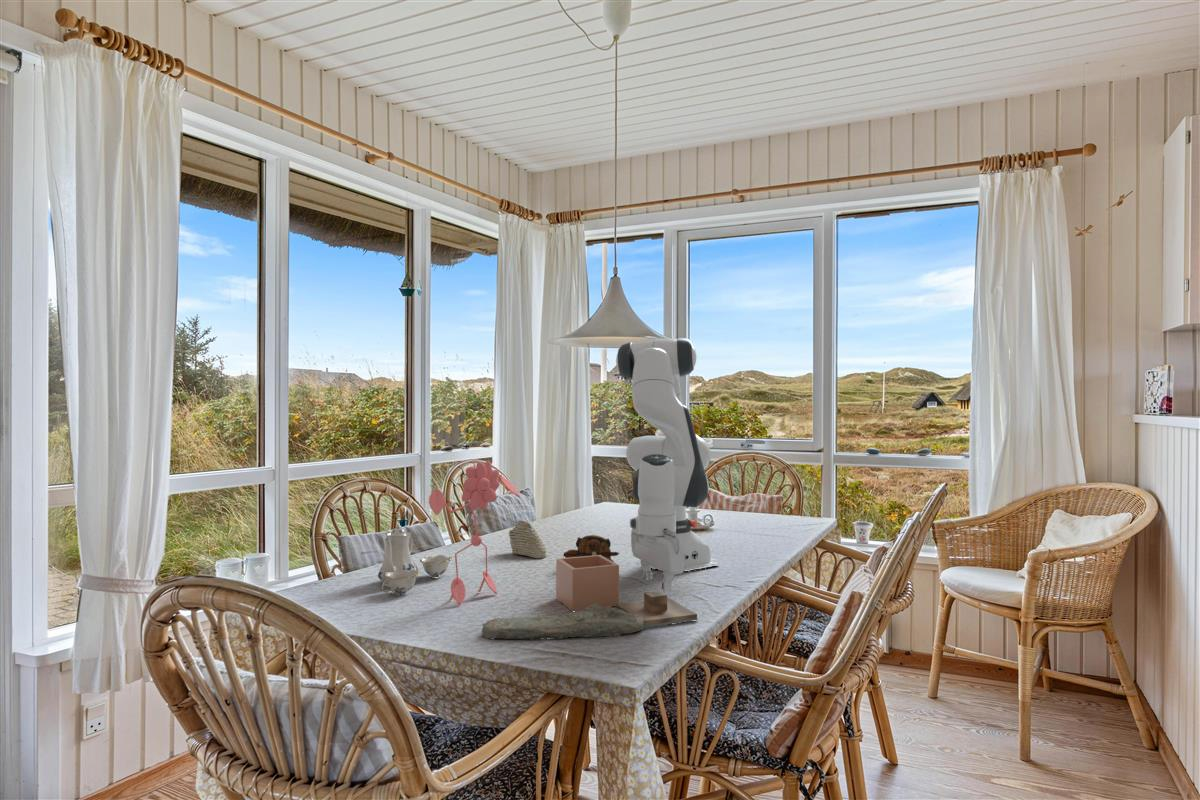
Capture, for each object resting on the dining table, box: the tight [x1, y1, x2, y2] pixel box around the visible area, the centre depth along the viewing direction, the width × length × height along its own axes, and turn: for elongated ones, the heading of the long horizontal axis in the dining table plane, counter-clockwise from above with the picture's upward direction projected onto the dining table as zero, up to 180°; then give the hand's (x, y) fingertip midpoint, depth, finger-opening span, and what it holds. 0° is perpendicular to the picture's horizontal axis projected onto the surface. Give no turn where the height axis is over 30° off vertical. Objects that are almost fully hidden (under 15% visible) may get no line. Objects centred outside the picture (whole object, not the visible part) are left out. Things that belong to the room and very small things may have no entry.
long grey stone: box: [481, 603, 644, 640], centre depth 153 cm, size 35×5×10 cm
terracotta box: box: [555, 555, 620, 612], centre depth 176 cm, size 12×12×10 cm
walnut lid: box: [615, 590, 698, 625], centre depth 165 cm, size 14×14×4 cm
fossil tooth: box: [508, 518, 547, 559], centre depth 227 cm, size 12×6×15 cm
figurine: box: [428, 459, 521, 606], centre depth 175 cm, size 15×26×35 cm, turn 139°
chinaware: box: [377, 523, 453, 596], centre depth 192 cm, size 28×17×17 cm, turn 169°
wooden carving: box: [562, 534, 620, 563], centre depth 208 cm, size 16×5×10 cm, turn 92°
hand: (656, 584), depth 165 cm, fingers open, 8 cm apart
